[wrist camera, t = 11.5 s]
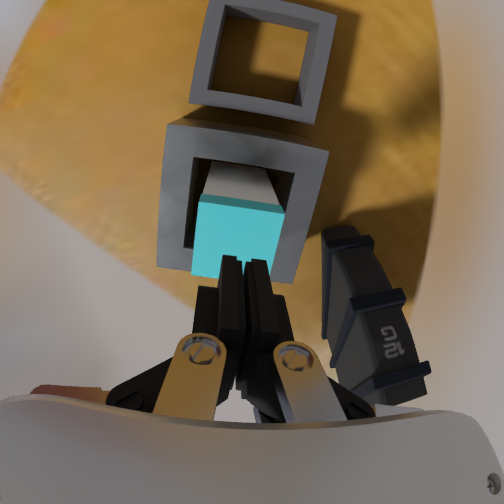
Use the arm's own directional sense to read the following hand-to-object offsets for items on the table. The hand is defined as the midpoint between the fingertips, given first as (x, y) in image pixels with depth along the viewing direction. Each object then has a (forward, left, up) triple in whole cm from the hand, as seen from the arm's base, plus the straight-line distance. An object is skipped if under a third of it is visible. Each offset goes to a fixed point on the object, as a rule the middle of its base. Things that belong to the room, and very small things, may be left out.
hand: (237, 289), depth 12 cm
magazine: (+8, +11, -13) cm, 19 cm away
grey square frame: (-10, 0, -13) cm, 16 cm away
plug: (0, 0, -13) cm, 13 cm away
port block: (0, 0, -13) cm, 13 cm away
